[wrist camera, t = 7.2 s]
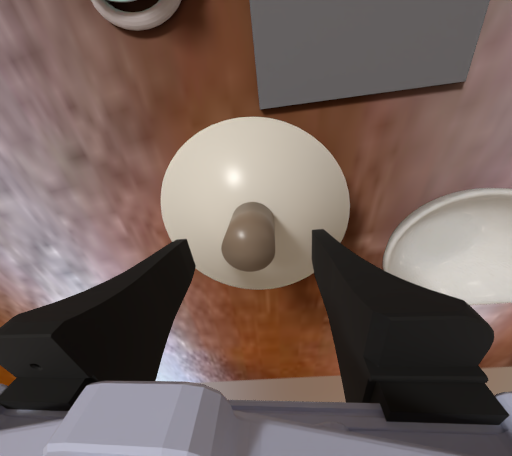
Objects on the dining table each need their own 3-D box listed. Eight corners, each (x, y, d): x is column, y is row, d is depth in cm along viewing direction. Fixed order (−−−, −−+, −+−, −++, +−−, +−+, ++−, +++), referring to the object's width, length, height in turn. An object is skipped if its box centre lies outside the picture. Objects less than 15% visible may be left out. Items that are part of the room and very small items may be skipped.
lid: (359, 103, 11) (399, 100, 8) (338, 282, 18) (355, 325, 14) (136, 129, 13) (83, 136, 9) (190, 286, 19) (171, 327, 15)
